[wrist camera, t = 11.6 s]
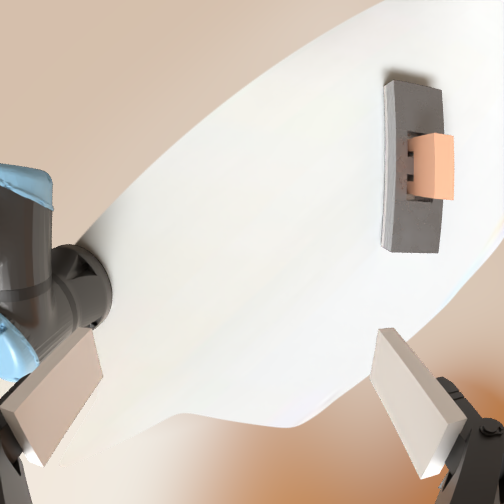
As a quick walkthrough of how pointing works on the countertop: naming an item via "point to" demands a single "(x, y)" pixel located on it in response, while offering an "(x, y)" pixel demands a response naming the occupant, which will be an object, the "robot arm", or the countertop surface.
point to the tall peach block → (432, 166)
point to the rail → (409, 168)
